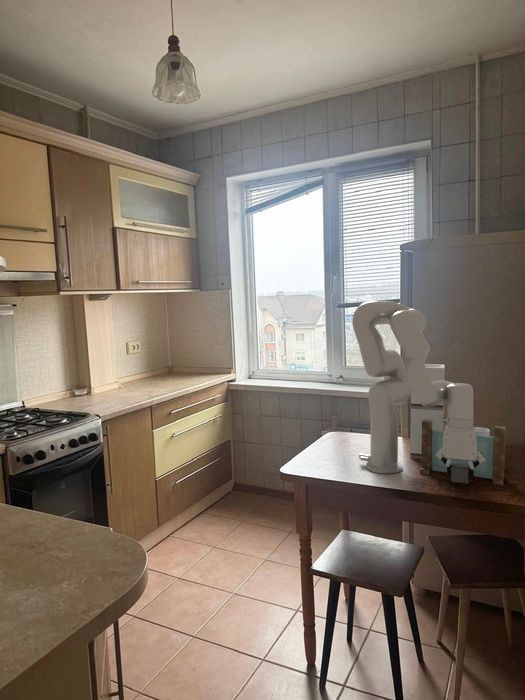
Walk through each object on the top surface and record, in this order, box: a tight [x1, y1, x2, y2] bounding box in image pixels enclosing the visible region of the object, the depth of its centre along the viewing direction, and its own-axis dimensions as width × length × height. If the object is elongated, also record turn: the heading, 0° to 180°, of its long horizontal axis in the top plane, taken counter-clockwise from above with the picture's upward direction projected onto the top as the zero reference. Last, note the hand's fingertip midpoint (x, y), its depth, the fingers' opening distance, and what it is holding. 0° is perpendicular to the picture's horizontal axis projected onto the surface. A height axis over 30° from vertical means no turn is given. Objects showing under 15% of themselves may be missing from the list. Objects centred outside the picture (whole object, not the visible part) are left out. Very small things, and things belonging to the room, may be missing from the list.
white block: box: [409, 363, 446, 460], centre depth 191 cm, size 11×11×35 cm
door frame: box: [419, 419, 506, 486], centre depth 169 cm, size 26×8×18 cm, turn 62°
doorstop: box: [450, 464, 470, 484], centre depth 162 cm, size 5×14×4 cm, turn 152°
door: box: [431, 430, 495, 480], centre depth 170 cm, size 19×1×14 cm, turn 62°
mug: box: [474, 426, 490, 436], centre depth 186 cm, size 10×7×12 cm, turn 131°
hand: (460, 478), depth 158 cm, fingers closed on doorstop, 5 cm apart
